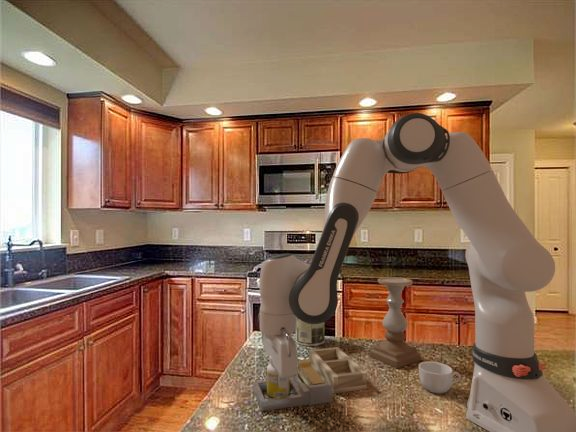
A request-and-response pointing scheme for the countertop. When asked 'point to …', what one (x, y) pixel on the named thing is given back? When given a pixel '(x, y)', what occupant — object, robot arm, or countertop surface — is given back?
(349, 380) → the box
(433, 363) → the teacup
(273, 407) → the socket block
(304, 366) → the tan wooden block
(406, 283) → the candle holder
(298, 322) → the coffee can
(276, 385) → the supplement bottle
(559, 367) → the countertop surface
